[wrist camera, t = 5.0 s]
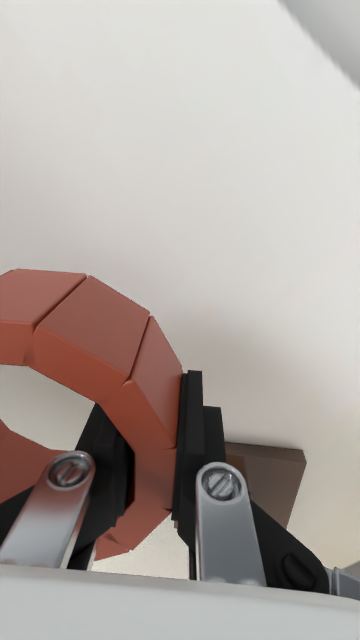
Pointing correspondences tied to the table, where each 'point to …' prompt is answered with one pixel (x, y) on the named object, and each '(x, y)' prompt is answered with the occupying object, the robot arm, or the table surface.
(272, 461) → the stand
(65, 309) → the hoop
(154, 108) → the table surface
